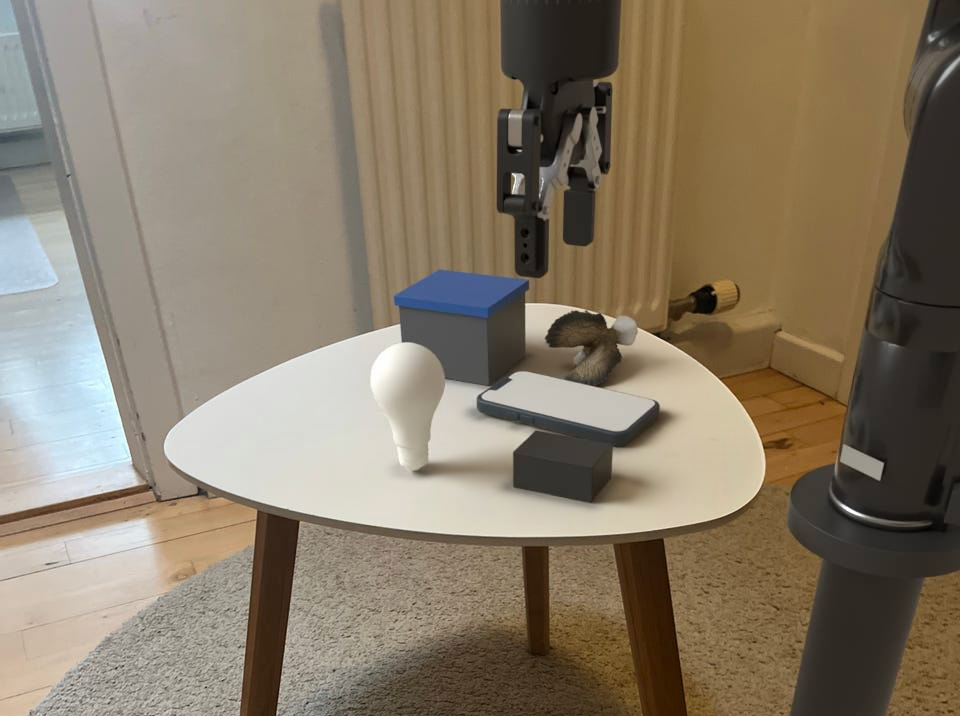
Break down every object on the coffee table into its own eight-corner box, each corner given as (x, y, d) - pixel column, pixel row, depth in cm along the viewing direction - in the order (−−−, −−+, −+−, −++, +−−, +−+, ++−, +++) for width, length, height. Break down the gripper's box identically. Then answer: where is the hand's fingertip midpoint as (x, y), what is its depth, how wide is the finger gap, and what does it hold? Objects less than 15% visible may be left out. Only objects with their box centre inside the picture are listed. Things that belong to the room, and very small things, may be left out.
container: (529, 355, 106) (529, 279, 101) (490, 387, 99) (488, 308, 94) (443, 342, 110) (439, 269, 105) (399, 372, 103) (393, 295, 98)
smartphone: (663, 416, 93) (517, 382, 100) (665, 400, 92) (517, 367, 99) (623, 453, 87) (470, 414, 94) (624, 436, 86) (470, 398, 93)
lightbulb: (408, 447, 89) (399, 326, 82) (463, 464, 86) (458, 339, 79) (364, 474, 85) (351, 349, 78) (420, 492, 82) (411, 364, 75)
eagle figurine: (563, 340, 106) (527, 352, 99) (603, 286, 102) (568, 294, 95) (613, 388, 105) (581, 403, 98) (656, 336, 101) (625, 348, 94)
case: (611, 478, 83) (613, 443, 81) (591, 503, 79) (592, 467, 77) (535, 464, 85) (535, 429, 83) (513, 487, 82) (512, 451, 80)
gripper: (574, -4, 54) (566, 295, 64) (656, -21, 64) (638, 239, 74) (453, -4, 57) (463, 282, 66) (550, -20, 67) (546, 230, 77)
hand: (555, 259), depth 70 cm, fingers open, 8 cm apart
